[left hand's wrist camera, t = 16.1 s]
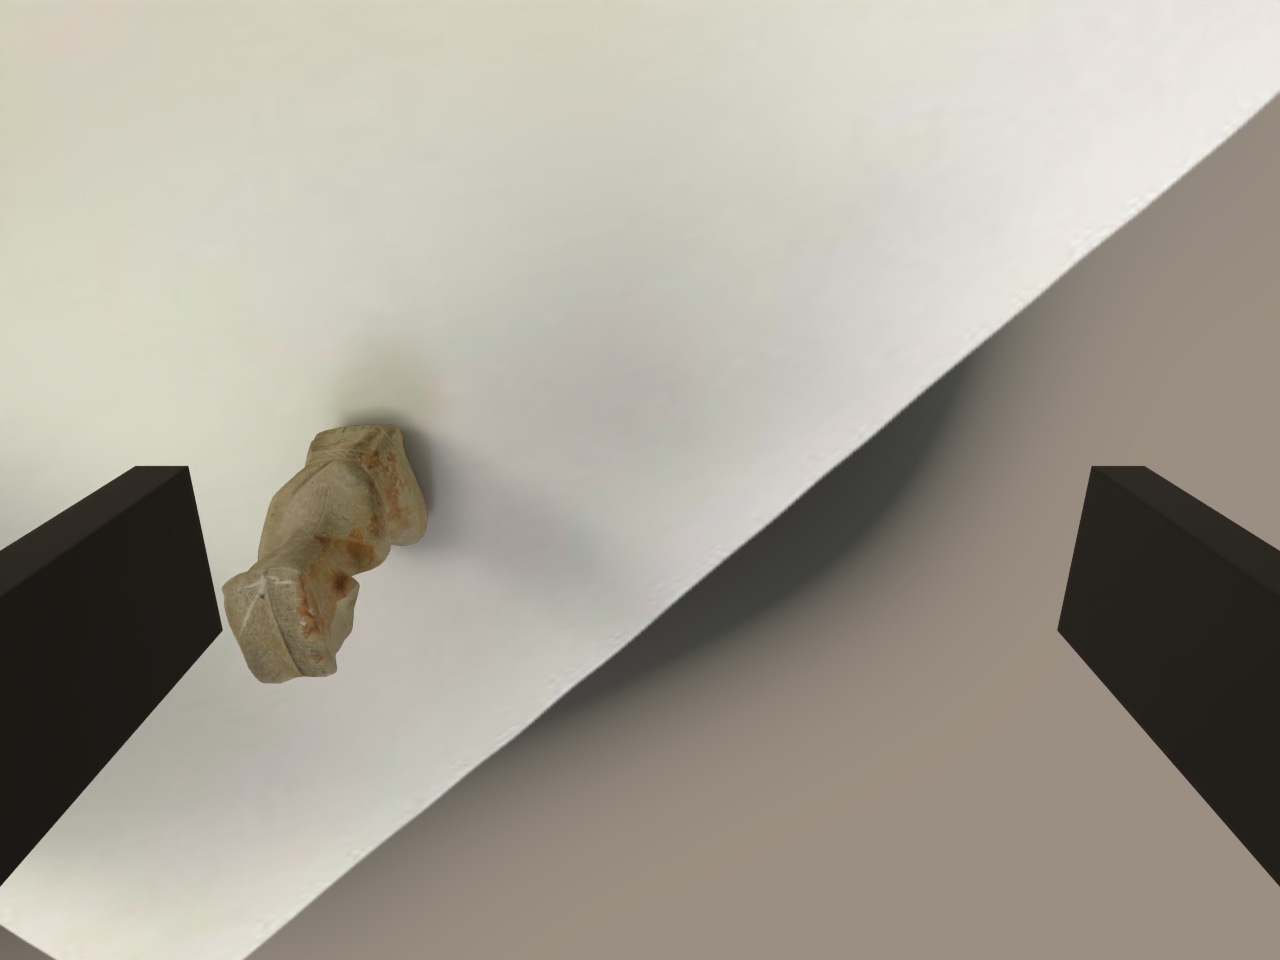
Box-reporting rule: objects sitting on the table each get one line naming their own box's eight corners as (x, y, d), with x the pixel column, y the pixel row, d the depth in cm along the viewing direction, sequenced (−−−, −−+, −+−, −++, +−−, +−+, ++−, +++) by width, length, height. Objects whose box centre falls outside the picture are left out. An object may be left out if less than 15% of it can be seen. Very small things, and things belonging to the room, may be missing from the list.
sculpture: (342, 538, 47) (216, 703, 33) (313, 414, 44) (163, 536, 30) (446, 530, 47) (363, 693, 33) (423, 405, 44) (322, 524, 30)
